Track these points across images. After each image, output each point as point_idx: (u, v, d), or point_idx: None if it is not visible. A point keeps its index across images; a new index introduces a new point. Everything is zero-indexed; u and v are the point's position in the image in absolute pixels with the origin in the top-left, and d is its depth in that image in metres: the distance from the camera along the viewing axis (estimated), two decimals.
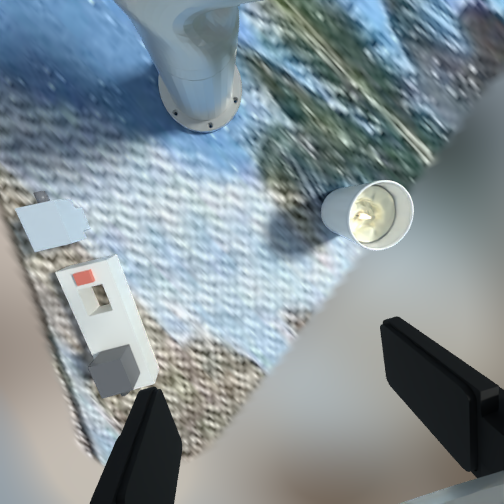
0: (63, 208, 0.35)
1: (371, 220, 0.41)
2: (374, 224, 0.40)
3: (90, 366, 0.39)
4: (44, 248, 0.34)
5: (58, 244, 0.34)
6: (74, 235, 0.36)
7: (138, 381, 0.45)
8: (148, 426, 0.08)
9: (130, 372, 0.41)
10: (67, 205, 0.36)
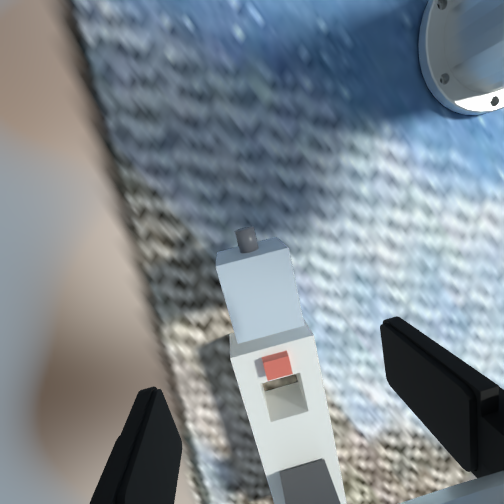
0: None
1: None
2: None
3: None
4: (255, 336, 0.18)
5: (281, 328, 0.18)
6: None
7: None
8: (148, 426, 0.08)
9: None
10: None
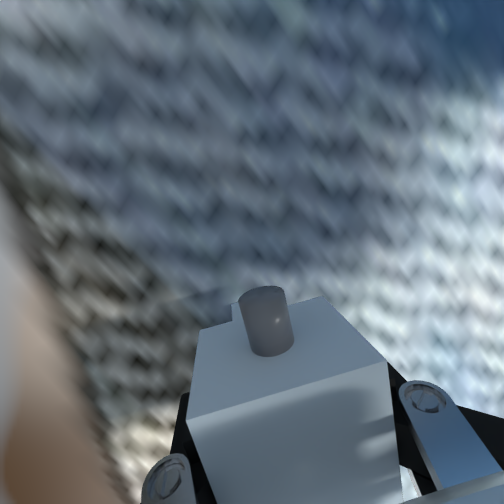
0: None
1: None
2: None
3: None
4: None
5: None
6: None
7: None
8: None
9: None
10: None
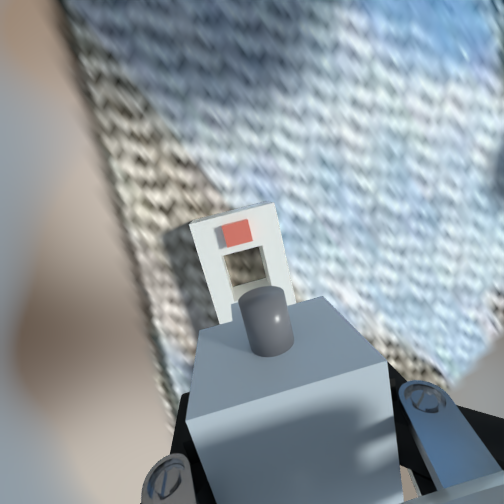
0: None
1: None
2: None
3: None
4: None
5: None
6: None
7: None
8: None
9: None
10: None
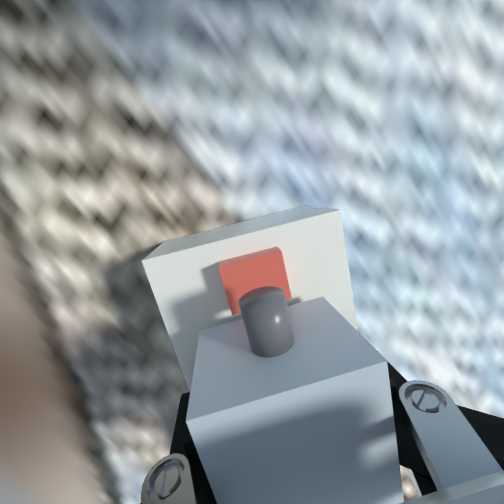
0: None
1: None
2: None
3: None
4: None
5: None
6: None
7: None
8: None
9: None
10: None
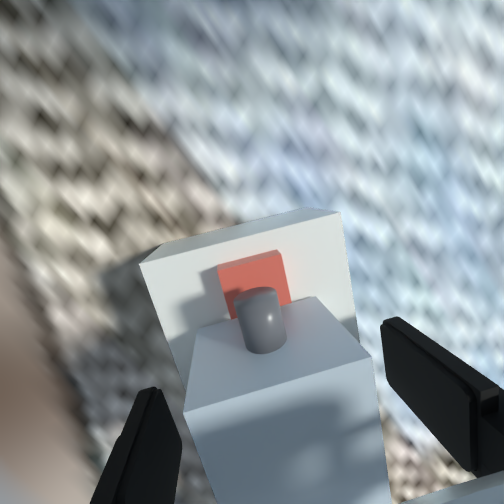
0: None
1: None
2: None
3: None
4: None
5: None
6: None
7: None
8: (148, 426, 0.08)
9: None
10: None
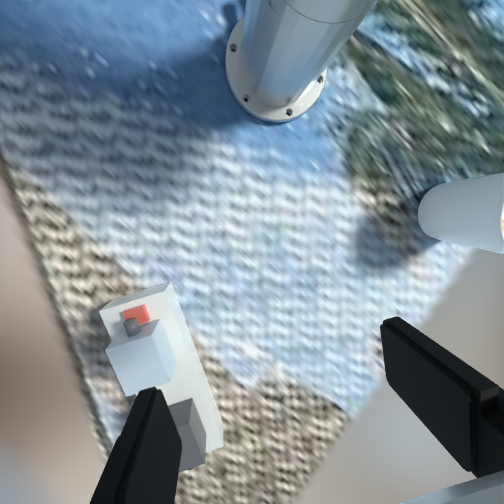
0: (158, 338, 0.28)
1: None
2: None
3: None
4: (137, 391, 0.28)
5: (154, 385, 0.28)
6: (170, 367, 0.29)
7: None
8: (148, 426, 0.08)
9: (199, 438, 0.31)
10: (159, 331, 0.29)
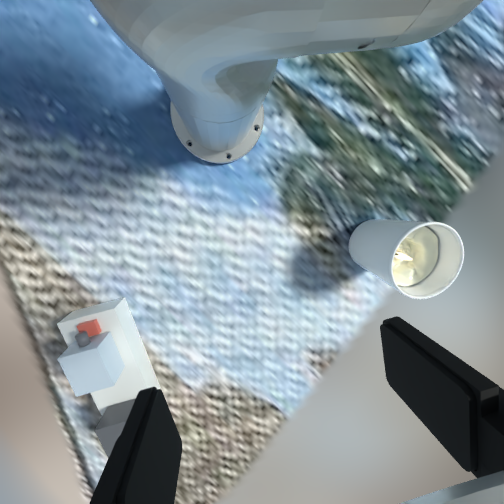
0: (104, 349, 0.34)
1: (409, 259, 0.36)
2: (414, 265, 0.35)
3: (97, 428, 0.35)
4: (86, 392, 0.33)
5: (100, 388, 0.33)
6: (115, 373, 0.35)
7: None
8: (148, 426, 0.08)
9: None
10: (107, 342, 0.35)
